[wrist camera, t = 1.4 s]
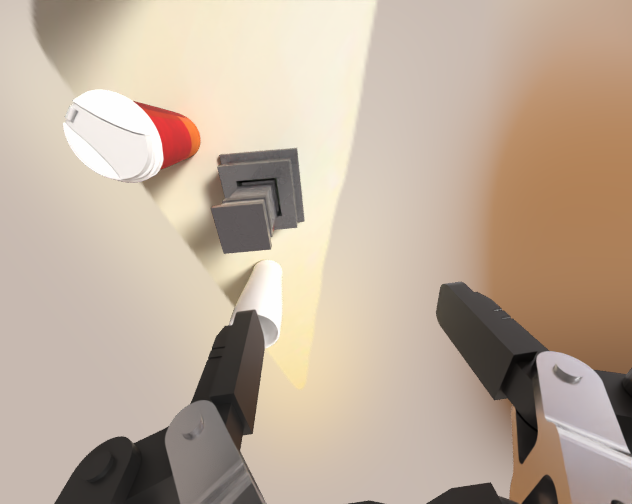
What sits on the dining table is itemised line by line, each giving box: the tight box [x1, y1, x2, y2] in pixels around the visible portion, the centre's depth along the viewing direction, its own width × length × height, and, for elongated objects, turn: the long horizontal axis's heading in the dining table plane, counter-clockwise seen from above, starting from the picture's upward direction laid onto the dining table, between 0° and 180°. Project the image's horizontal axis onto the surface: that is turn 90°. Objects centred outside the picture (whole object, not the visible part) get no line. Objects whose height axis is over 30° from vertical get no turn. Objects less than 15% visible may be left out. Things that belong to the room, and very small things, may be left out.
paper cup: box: [63, 90, 200, 183], centre depth 27 cm, size 8×8×14 cm
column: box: [211, 178, 280, 254], centre depth 29 cm, size 5×5×16 cm
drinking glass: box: [229, 260, 283, 348], centre depth 37 cm, size 7×7×15 cm
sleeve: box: [217, 148, 304, 231], centre depth 34 cm, size 11×11×7 cm
